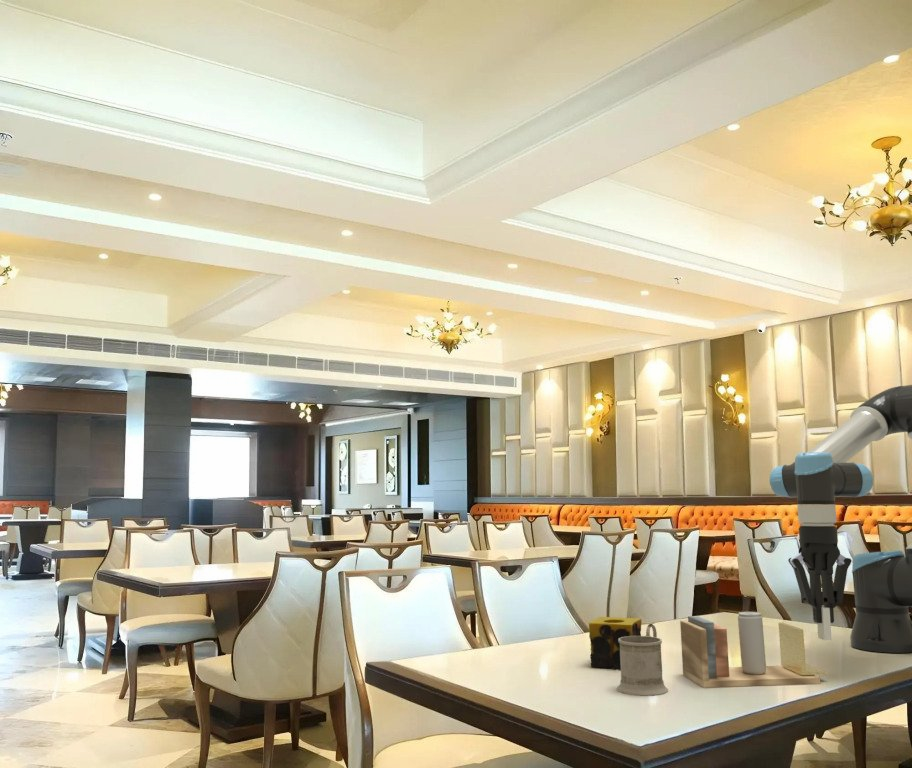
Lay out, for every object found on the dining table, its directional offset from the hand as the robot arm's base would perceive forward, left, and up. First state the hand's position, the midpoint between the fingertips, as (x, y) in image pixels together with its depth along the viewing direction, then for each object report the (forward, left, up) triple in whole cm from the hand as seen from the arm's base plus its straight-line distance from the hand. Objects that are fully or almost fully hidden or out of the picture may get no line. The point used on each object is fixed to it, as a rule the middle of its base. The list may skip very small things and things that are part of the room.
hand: (824, 639), depth 172 cm
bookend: (+5, 0, -6) cm, 8 cm away
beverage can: (+16, 0, -7) cm, 17 cm away
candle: (+40, -18, -8) cm, 44 cm away
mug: (+40, +4, -8) cm, 41 cm away
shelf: (+17, 0, -8) cm, 18 cm away
